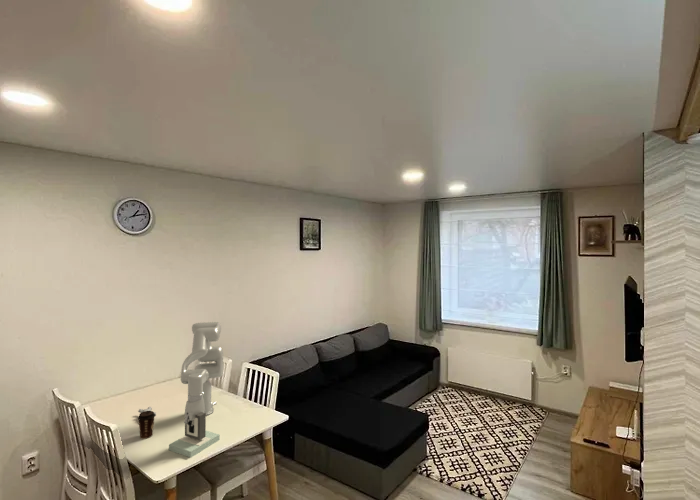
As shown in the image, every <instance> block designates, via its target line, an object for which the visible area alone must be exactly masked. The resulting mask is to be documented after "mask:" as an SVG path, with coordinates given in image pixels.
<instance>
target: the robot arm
mask: <svg viewBox="0 0 700 500" xmlns="http://www.w3.org/2000/svg"><path fill="white" fill-rule="evenodd" d="M191 331H192V334H193V340H192V348H191V353H189V355H188V356H187V357H185V359H184V360H183V362H182V365H181V371H180V381H181V383H182V384H183V385H187V401H186V404H185V408H184V421H183V424H185V423H186V424H188V425H189V432H190V433H194V425H193V423H194V419H195V415H196V414H198V413H200V412H203V413H206V416H210V415H211V414H213V413H214V411H215V408H214V406H216V405H217V401H213V402H212V382H211V381H210V380H209V379H217V378H221V377H223V374H224V350H223V348H222V347H221V346H220V345H219V346H218V345H217V346H216V345H215V346H212V342H218V341H219V339H220V336H221V332H222V325H221V323H220V322H218V321H217V322H216V321H214V322H213V321H212V322H211V321H210V322H209V321H208V322H204V321H203V322H194V323H193V324H192V326H191ZM195 361H198V362H200V363H199V364H197V365H196V366H195V368H194V369H188V367H189V365H191V364H192V363H193V362H195Z"/></svg>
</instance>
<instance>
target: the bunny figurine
mask: <svg viewBox="0 0 700 500" xmlns="http://www.w3.org/2000/svg"><path fill="white" fill-rule="evenodd" d="M152 410H153V407H152V406H149V407H147V408H145V409H143V408H138V411H137V412H138V413H139V414H140V413H142V412H145V411H152ZM153 412H154V413H155V416H154V418H155V417H157V412H155V411H153Z"/></svg>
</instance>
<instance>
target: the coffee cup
mask: <svg viewBox="0 0 700 500" xmlns="http://www.w3.org/2000/svg"><path fill="white" fill-rule="evenodd" d="M154 412H155V411H152V410H151V411H145V412H142V413H140V412H139V415H138V416H137V420H138V427H139V428H138V429H139V435H140V436H139V438H140V439H142V440H143V439H149V438H151V437H152V436H153V433H154V425H155V417H156V416H155V413H154ZM154 416H155V417H154Z"/></svg>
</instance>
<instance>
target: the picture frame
mask: <svg viewBox="0 0 700 500" xmlns="http://www.w3.org/2000/svg"><path fill="white" fill-rule="evenodd" d="M206 417H207V415H206V413H203V412H200V413H198V414H196V415H195V419H194V423H193V425H194V433H190V432H189V425H188V424H186V423H184V436H188V437H191V438H194V439H197V440H201V439H203V438H204V437H205V435H206V431H207V430H206V428H207V427H206V426H207V424H206V422H207V421H206V420H207V419H206Z"/></svg>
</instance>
